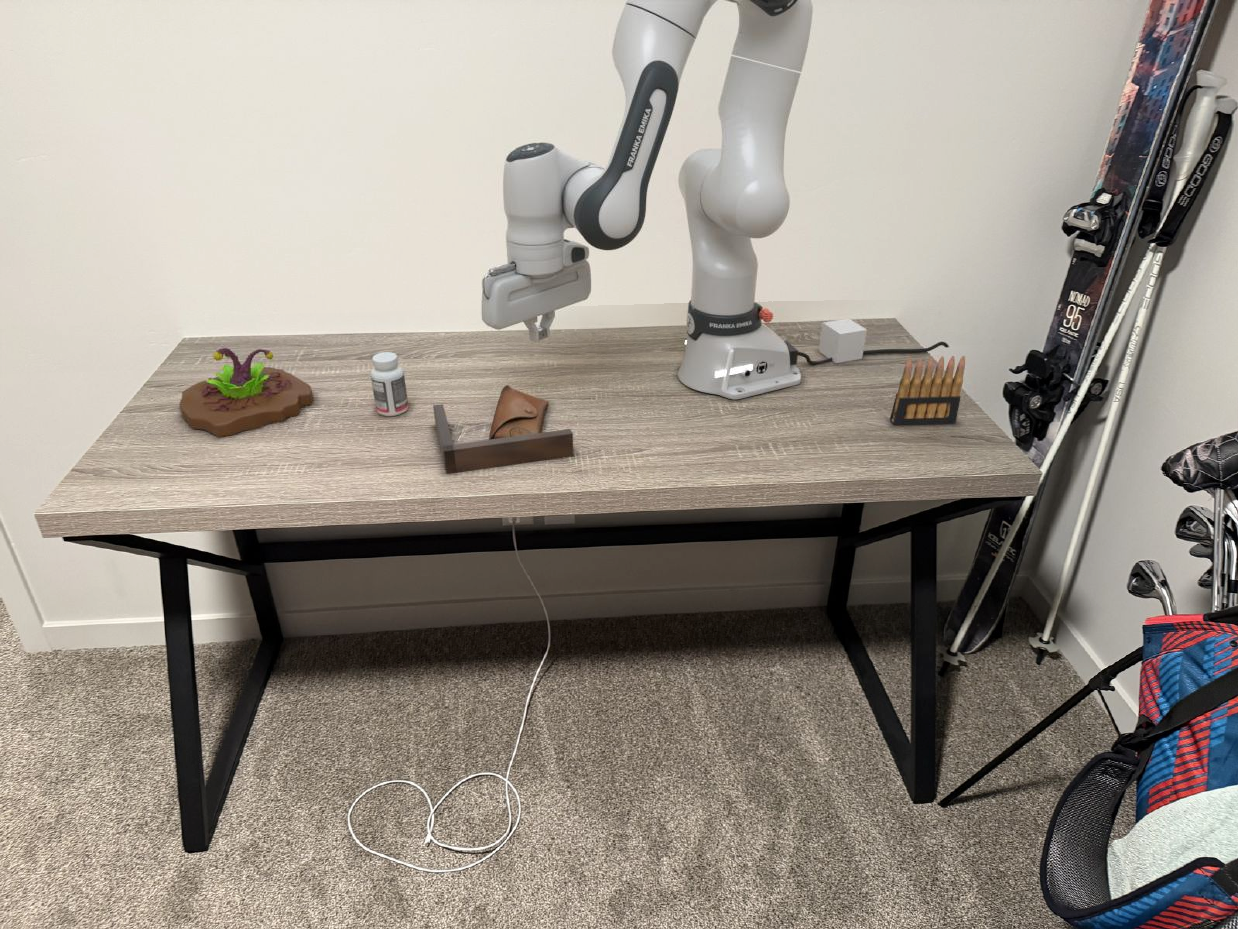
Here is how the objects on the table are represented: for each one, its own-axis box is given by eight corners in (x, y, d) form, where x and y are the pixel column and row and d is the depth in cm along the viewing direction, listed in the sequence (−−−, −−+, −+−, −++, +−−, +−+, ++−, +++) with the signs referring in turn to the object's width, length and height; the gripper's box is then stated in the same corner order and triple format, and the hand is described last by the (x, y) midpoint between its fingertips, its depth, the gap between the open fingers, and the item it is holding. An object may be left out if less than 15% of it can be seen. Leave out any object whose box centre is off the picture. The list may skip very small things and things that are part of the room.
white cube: (835, 363, 162) (840, 334, 159) (818, 351, 167) (822, 322, 164) (862, 358, 164) (867, 329, 161) (844, 346, 169) (848, 318, 166)
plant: (162, 405, 145) (143, 345, 139) (270, 370, 157) (257, 313, 151) (216, 447, 134) (198, 383, 128) (328, 405, 146) (316, 345, 140)
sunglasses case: (543, 453, 132) (519, 420, 129) (505, 472, 134) (481, 440, 131) (549, 399, 147) (528, 369, 144) (516, 417, 149) (494, 388, 146)
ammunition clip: (951, 418, 144) (966, 353, 138) (955, 423, 142) (971, 357, 136) (889, 420, 143) (902, 354, 137) (893, 425, 142) (906, 359, 135)
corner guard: (552, 411, 145) (551, 390, 143) (573, 456, 132) (572, 433, 130) (435, 426, 140) (433, 405, 138) (446, 474, 128) (443, 451, 126)
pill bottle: (406, 400, 148) (399, 348, 143) (410, 414, 144) (403, 361, 138) (374, 405, 146) (366, 352, 141) (378, 419, 142) (369, 365, 137)
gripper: (495, 276, 123) (501, 363, 131) (596, 245, 136) (597, 327, 143) (468, 266, 127) (476, 351, 134) (570, 237, 139) (572, 316, 147)
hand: (539, 338), depth 139 cm, fingers closed
